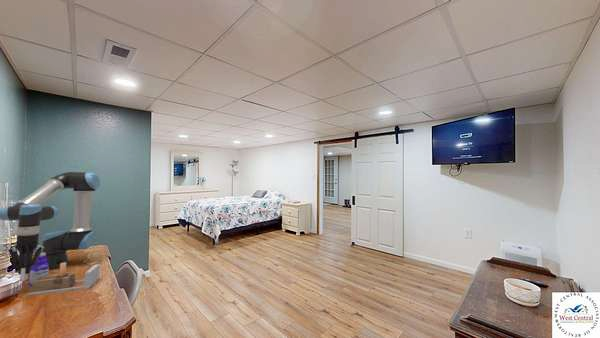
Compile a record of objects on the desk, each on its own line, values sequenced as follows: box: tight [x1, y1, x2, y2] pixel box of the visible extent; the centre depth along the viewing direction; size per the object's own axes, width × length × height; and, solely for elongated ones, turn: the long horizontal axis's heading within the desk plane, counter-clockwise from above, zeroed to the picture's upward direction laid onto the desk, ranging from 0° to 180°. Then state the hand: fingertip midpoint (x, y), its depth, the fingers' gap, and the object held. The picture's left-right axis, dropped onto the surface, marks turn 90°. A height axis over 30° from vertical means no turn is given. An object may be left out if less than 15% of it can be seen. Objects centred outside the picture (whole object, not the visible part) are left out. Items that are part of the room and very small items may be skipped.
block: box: [30, 272, 76, 292], centre depth 125 cm, size 8×14×6 cm, turn 113°
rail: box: [26, 263, 101, 296], centre depth 127 cm, size 13×26×10 cm, turn 113°
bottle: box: [28, 252, 50, 286], centre depth 132 cm, size 7×6×17 cm
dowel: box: [59, 262, 67, 278], centre depth 127 cm, size 2×2×12 cm
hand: (23, 280), depth 120 cm, fingers closed
